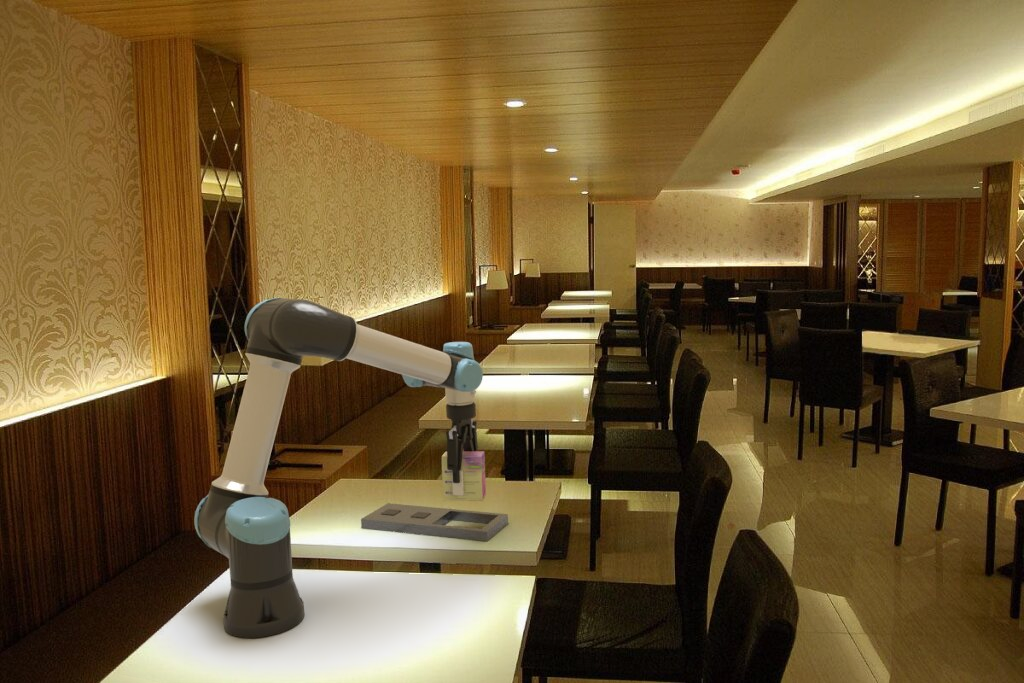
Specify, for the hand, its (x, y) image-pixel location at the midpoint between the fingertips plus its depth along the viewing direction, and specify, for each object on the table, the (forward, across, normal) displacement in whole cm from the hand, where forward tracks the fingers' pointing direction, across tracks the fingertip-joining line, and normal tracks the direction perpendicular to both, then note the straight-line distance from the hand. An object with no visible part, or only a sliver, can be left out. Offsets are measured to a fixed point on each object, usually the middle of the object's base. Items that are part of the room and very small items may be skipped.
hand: (464, 490), depth 206 cm
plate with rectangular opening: (+10, 0, +9) cm, 14 cm away
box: (+2, 0, 0) cm, 2 cm away
